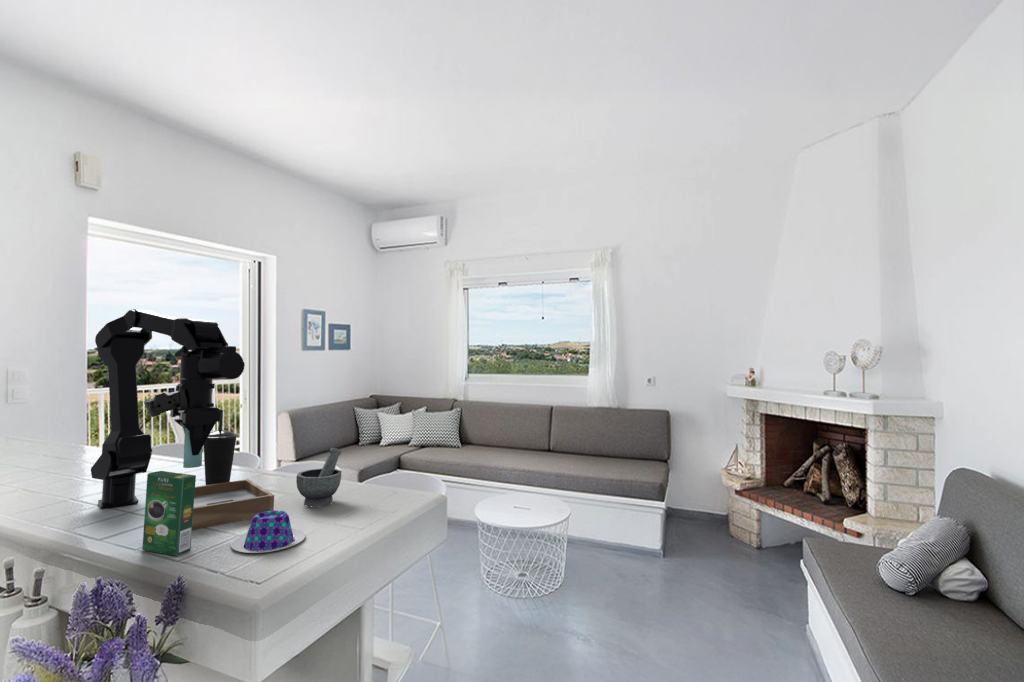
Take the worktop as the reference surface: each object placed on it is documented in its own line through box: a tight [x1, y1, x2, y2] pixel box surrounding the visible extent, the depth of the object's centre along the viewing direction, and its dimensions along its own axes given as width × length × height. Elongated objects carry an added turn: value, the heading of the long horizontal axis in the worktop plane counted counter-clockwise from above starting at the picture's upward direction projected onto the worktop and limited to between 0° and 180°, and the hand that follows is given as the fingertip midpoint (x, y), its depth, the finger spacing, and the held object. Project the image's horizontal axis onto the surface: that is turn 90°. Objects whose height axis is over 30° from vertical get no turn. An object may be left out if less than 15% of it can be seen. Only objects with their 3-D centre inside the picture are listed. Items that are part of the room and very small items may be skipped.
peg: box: [182, 428, 203, 469], centre depth 99 cm, size 3×3×8 cm
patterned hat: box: [230, 509, 306, 554], centre depth 86 cm, size 12×12×5 cm
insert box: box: [192, 478, 275, 531], centre depth 103 cm, size 18×16×4 cm
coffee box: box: [142, 470, 197, 557], centre depth 82 cm, size 8×3×13 cm, turn 75°
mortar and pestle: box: [295, 447, 342, 508], centre depth 111 cm, size 11×9×12 cm
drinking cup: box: [203, 409, 238, 485], centre depth 119 cm, size 8×8×20 cm
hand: (193, 454), depth 99 cm, fingers closed on peg, 3 cm apart
